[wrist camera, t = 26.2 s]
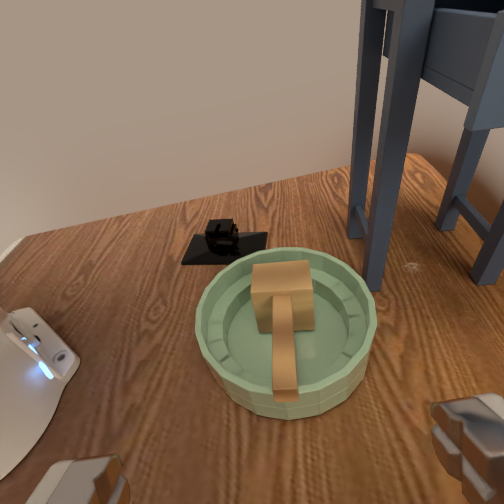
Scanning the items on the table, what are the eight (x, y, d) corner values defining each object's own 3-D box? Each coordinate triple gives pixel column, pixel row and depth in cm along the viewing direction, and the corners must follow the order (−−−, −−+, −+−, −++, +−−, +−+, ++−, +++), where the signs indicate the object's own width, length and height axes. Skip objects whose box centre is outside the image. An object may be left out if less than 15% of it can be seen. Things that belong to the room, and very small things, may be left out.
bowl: (180, 340, 34) (164, 310, 31) (283, 260, 41) (279, 229, 38) (290, 471, 23) (284, 449, 20) (403, 331, 31) (414, 297, 27)
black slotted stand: (181, 265, 44) (170, 242, 41) (195, 235, 50) (186, 212, 47) (262, 264, 42) (257, 238, 39) (268, 232, 47) (263, 207, 44)
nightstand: (555, 365, 26) (1186, -245, 7) (387, 369, 28) (522, -95, 9) (447, 221, 42) (548, -81, 23) (346, 230, 44) (363, -40, 25)
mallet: (328, 425, 24) (328, 384, 20) (254, 426, 24) (241, 386, 21) (310, 299, 35) (308, 259, 31) (260, 302, 36) (252, 264, 32)
